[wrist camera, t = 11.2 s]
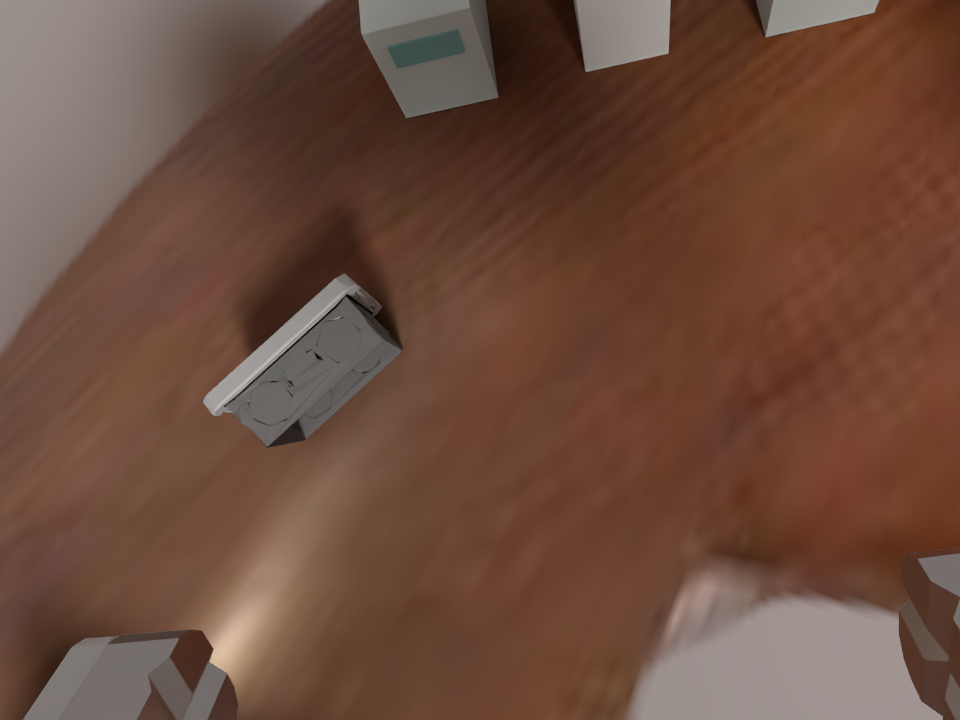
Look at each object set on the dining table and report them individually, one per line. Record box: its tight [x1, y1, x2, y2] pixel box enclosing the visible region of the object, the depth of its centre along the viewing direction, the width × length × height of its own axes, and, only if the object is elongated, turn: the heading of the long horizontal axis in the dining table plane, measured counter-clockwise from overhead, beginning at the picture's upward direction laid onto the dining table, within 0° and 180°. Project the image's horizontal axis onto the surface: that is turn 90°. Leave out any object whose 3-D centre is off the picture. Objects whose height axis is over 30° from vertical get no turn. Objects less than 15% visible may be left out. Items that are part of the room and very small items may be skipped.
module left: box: [359, 0, 499, 118], centre depth 45 cm, size 6×8×8 cm
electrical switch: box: [203, 273, 403, 448], centre depth 40 cm, size 9×5×9 cm, turn 131°
